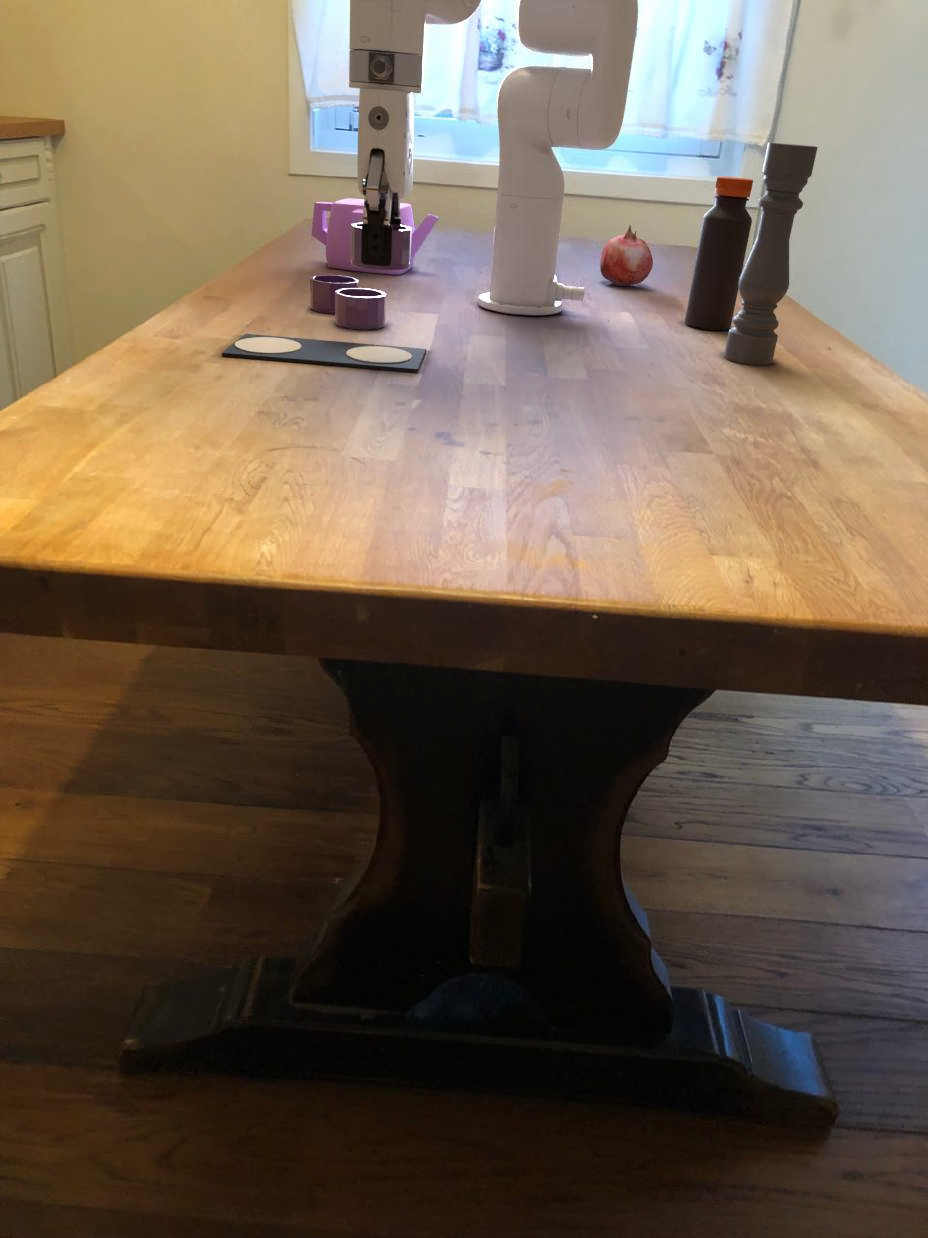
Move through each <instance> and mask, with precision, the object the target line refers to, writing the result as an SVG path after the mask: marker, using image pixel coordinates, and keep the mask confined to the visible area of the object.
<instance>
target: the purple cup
mask: <svg viewBox="0 0 928 1238" xmlns="http://www.w3.org/2000/svg"><path fill="white" fill-rule="evenodd" d="M309 281H310V282H309V287H310V288H309V294H310V295H309V296H310V298H309V300H310V303H309V304H310V309H311V310H312V311H316V312H319V313H324V314H334V315H335V291H337V290H339V289H344V288H359V286H360V285H359V279H357V277H352V276H348V275H339V274H318V275H312V276H311V277H310V278H309Z"/></svg>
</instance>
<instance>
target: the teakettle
mask: <svg viewBox="0 0 928 1238" xmlns="http://www.w3.org/2000/svg"><path fill="white" fill-rule="evenodd" d="M313 203H314V205H313V212H312V213H313V215H312V226H311V237H313V238H314V239H316V240H318V242H319V243H322V244H323V245H324V246H325V258H326V262H327V265H328V268H330V269H335V270H342V271H343V270H344V271H352V272H361V273H371V274H384V275H402V274H404V273H406V272H408V271H409V270H410V269H412V268H413V266H414V262H415V260H416V254H417V253H418V251H419V250H420V248H421V247H422V245H423V244H424V242H425V240H426V239H427V238H428V236H429V234H430V233H431V232H432V230H433V228H434V227H435V225H436V223H437V222H438V220H439V216H437V215H433V214H431V213H428V214H427V216H426V217H425V218H424V219H423V221H421V223H420V224H419V225H418V226H417V227H416V226H415V220H414V213H413V208H412V204H410V203H403V202H400V218H397V219H401V225H402V226H407V227H410V228H412V237H411V261H410V267H409V268H408V269H403V270H377V269H368V268H362V267H357V266H354V265H352V264H351V259H350V251H351V225H352V224H353V223H363V209H364V199H361V198H348V197H347V198H343V199H339V200H336V201H334V202H327V201H316V202H313ZM327 212H330V213H329V218H328V222H327ZM327 223H328V224H327ZM415 227H416V228H415Z"/></svg>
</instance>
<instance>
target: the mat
mask: <svg viewBox="0 0 928 1238" xmlns="http://www.w3.org/2000/svg"><path fill="white" fill-rule="evenodd" d="M426 353H427V348H420V347H409V346H397V345H396V346H395V345H384V344H375V343H374V344H372V343H363V342H349V341H336V340H327V339H326V340H324V339H313V338H302V337H292V336H291V337H289V336H278V335H277V336H276V335H266V334H254V333H253V334H252V333H245V334H244V335H242V336H241V337H240V338H238V339H237V340H236V341H235V342H234V343H232V344H231V345H230V346H229V347H228V348H226V349H225V350H224V351H222V352H221V356H222V357H228V358H241V359H251V360H261V361H262V360H263V361H274V362H285V363H286V362H287V363H297V364H298V363H300V364H308V365H309V364H310V365H321V366H322V365H323V366H332V367H333V366H335V367H346V368H358V369H369V370H382V371H392V372H393V371H394V372H405V373H415V374H416V373H417V374H418V373H419V370H420V368H421V365H422V363H423V360H424V358H425V355H426Z"/></svg>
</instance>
